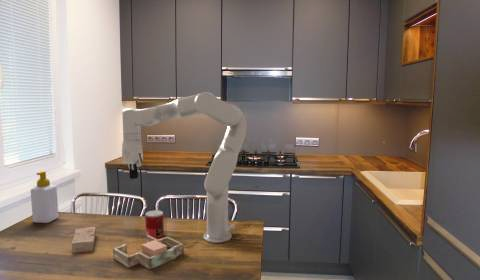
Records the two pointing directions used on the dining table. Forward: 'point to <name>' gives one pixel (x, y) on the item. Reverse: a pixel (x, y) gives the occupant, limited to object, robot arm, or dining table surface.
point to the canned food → (154, 224)
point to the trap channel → (150, 262)
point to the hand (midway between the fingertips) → (133, 178)
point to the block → (153, 248)
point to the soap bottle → (44, 200)
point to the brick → (84, 239)
